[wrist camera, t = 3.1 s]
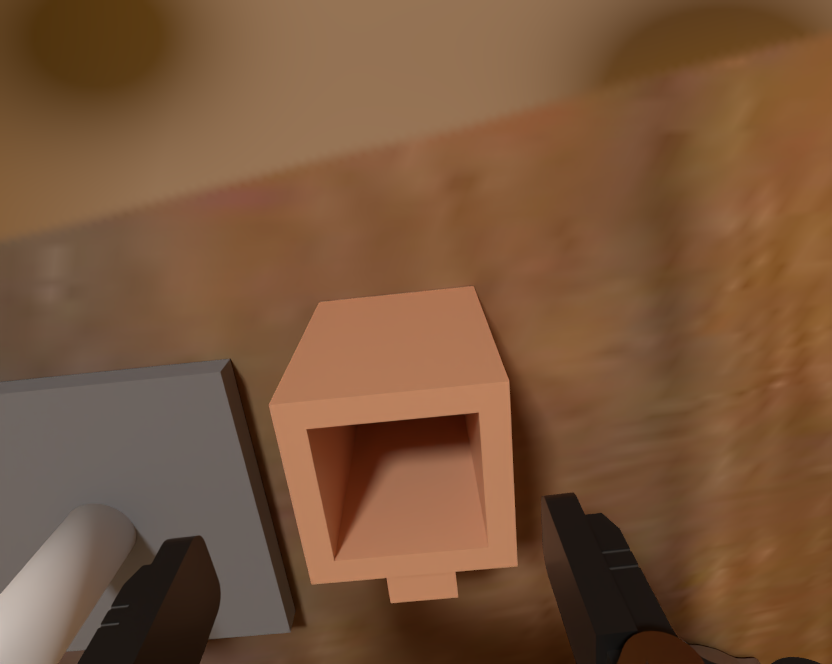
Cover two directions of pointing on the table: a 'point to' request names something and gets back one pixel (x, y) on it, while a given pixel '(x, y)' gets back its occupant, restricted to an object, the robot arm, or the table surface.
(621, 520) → the table surface
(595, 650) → the robot arm
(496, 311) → the table surface
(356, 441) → the orange hollow box
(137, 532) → the base
